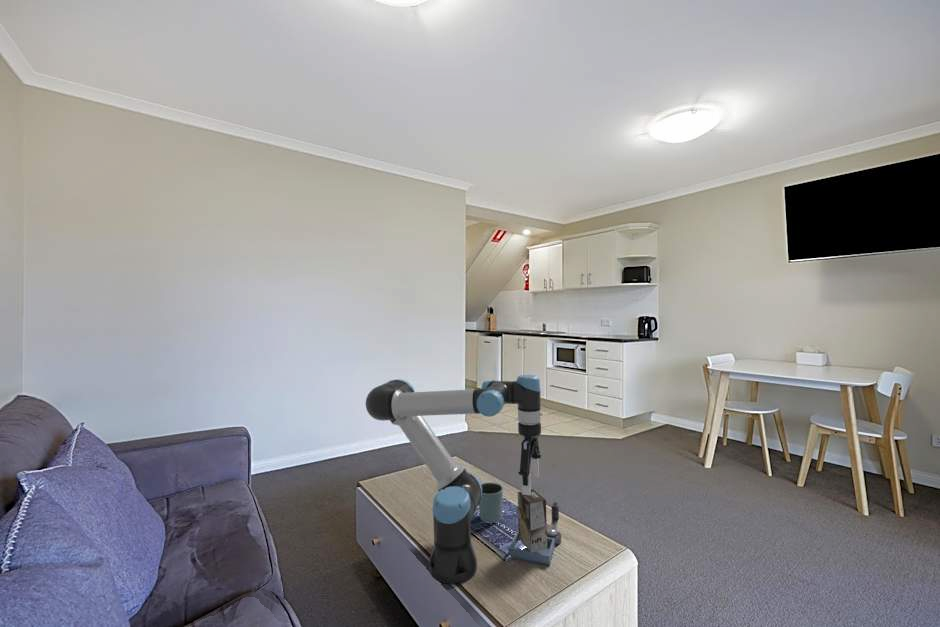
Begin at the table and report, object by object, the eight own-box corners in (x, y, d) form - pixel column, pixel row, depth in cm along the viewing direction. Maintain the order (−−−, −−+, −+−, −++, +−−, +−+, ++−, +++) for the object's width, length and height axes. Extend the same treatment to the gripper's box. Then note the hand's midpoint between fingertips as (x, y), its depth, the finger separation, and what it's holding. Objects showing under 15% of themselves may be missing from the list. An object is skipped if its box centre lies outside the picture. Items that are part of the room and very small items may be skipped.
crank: (556, 537, 137) (556, 519, 137) (545, 535, 139) (544, 517, 139) (561, 520, 148) (561, 503, 148) (550, 518, 150) (550, 501, 150)
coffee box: (548, 548, 130) (547, 500, 130) (531, 553, 128) (529, 503, 127) (534, 534, 139) (533, 488, 138) (517, 538, 136) (516, 491, 136)
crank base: (559, 547, 136) (559, 541, 136) (517, 539, 141) (517, 533, 141) (562, 536, 142) (562, 531, 142) (521, 529, 147) (521, 524, 147)
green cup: (508, 520, 153) (507, 489, 153) (485, 528, 148) (485, 496, 148) (494, 509, 162) (493, 480, 162) (472, 516, 157) (472, 485, 157)
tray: (549, 565, 126) (549, 556, 126) (509, 557, 131) (509, 548, 131) (554, 547, 136) (554, 538, 136) (516, 540, 140) (516, 531, 140)
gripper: (532, 434, 120) (534, 504, 120) (547, 413, 143) (548, 472, 143) (508, 432, 122) (510, 500, 123) (526, 411, 146) (527, 469, 146)
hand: (530, 485), depth 133 cm, fingers open, 13 cm apart
